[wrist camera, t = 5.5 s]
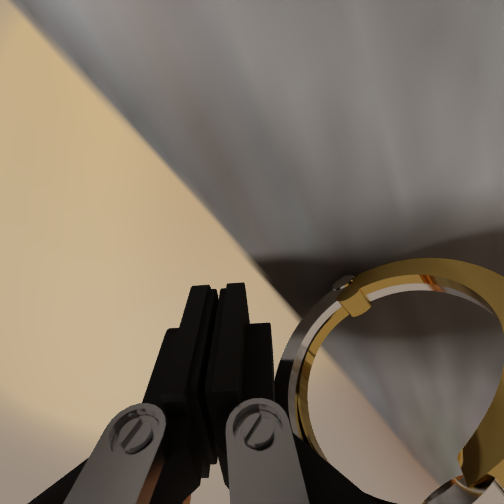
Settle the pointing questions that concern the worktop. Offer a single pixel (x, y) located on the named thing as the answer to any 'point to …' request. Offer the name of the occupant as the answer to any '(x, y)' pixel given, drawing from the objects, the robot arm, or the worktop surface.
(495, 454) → the ring
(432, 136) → the worktop surface
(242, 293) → the robot arm
